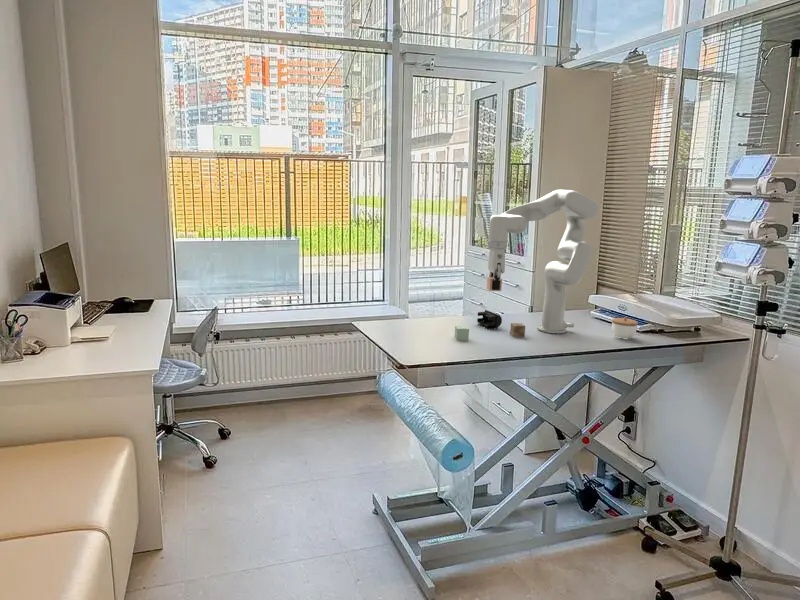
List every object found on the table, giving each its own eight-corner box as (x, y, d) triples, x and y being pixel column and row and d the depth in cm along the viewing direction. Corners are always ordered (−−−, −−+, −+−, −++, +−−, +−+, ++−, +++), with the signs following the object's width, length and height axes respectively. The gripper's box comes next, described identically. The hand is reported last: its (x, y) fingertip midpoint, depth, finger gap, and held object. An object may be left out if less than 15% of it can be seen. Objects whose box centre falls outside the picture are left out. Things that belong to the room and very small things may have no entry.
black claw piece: (501, 328, 270) (502, 314, 268) (488, 329, 267) (489, 315, 265) (489, 323, 278) (490, 309, 277) (476, 324, 275) (477, 310, 274)
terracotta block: (498, 288, 252) (499, 277, 251) (501, 291, 247) (502, 279, 246) (486, 288, 252) (487, 276, 251) (489, 290, 247) (490, 278, 246)
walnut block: (521, 334, 261) (522, 323, 260) (524, 337, 257) (525, 326, 256) (510, 334, 261) (511, 322, 260) (513, 337, 256) (514, 325, 255)
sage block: (466, 337, 252) (466, 325, 251) (468, 340, 247) (469, 328, 246) (454, 337, 252) (455, 325, 251) (456, 340, 247) (457, 328, 246)
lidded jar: (616, 340, 258) (619, 319, 256) (606, 334, 268) (608, 314, 266) (640, 341, 259) (643, 320, 257) (628, 334, 269) (631, 314, 267)
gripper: (511, 248, 238) (508, 292, 241) (500, 243, 254) (497, 285, 258) (493, 247, 237) (490, 292, 241) (483, 242, 254) (480, 284, 257)
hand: (494, 288), depth 249 cm, fingers closed on terracotta block, 5 cm apart
